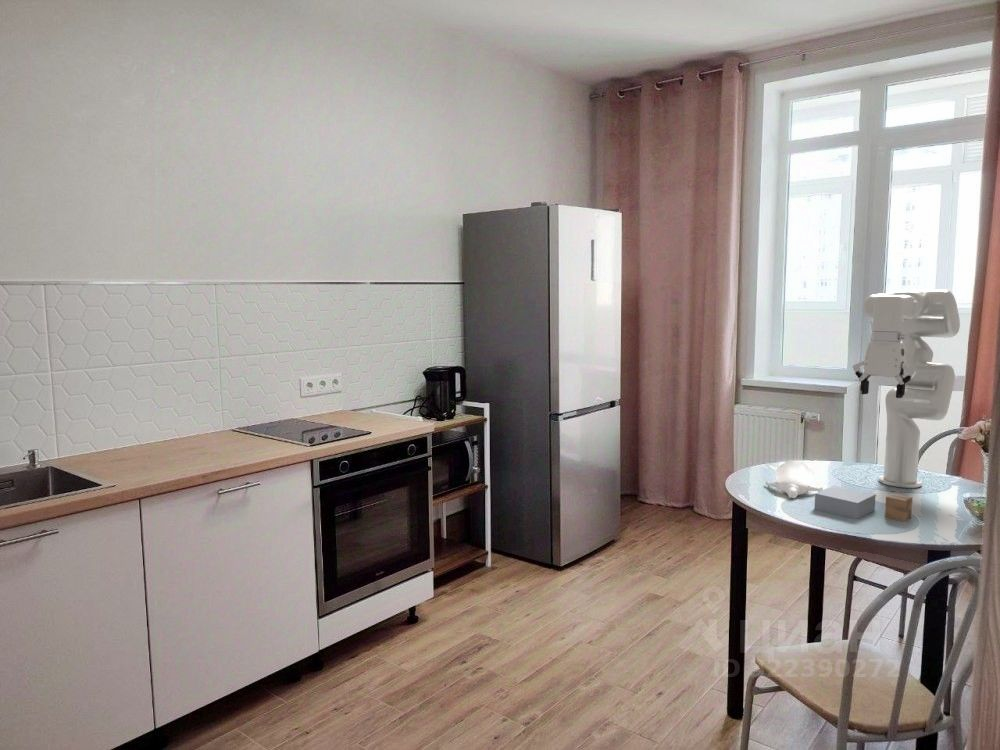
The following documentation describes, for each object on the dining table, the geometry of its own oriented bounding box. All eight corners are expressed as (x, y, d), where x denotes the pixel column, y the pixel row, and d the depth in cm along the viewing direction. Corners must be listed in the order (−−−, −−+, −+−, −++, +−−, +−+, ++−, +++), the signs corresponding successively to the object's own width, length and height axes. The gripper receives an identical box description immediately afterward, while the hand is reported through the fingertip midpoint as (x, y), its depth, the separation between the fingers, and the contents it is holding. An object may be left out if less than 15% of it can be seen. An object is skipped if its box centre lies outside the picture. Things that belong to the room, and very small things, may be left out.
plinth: (833, 501, 212) (833, 485, 211) (874, 511, 203) (875, 494, 202) (814, 509, 204) (815, 493, 203) (856, 520, 195) (857, 502, 194)
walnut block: (891, 513, 199) (893, 493, 199) (910, 517, 196) (912, 497, 195) (884, 517, 196) (886, 496, 195) (904, 521, 192) (905, 500, 192)
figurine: (768, 476, 239) (762, 497, 217) (769, 451, 238) (763, 470, 215) (822, 481, 232) (822, 504, 209) (824, 456, 231) (823, 476, 208)
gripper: (923, 339, 199) (918, 398, 201) (861, 336, 212) (857, 391, 214) (913, 339, 194) (908, 400, 196) (849, 336, 208) (846, 393, 209)
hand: (881, 395), depth 205 cm, fingers open, 9 cm apart
